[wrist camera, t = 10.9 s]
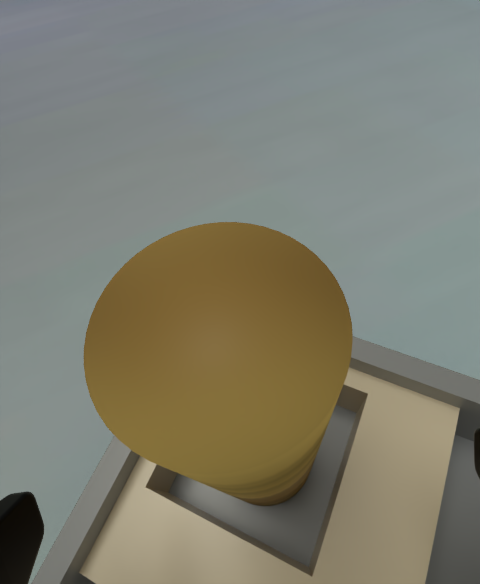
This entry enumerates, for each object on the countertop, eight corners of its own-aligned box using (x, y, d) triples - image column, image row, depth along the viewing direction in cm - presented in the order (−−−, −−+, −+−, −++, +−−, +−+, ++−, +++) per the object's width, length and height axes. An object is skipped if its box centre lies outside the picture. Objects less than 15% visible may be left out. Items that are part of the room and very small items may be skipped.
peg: (321, 499, 16) (389, 450, 5) (220, 512, 16) (71, 495, 5) (302, 397, 18) (319, 205, 7) (212, 410, 18) (93, 242, 7)
